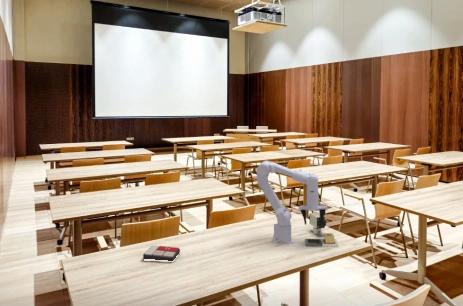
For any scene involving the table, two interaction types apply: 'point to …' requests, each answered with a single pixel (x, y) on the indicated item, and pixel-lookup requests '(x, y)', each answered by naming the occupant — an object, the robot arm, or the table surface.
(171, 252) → the grey and red box
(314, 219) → the pneumatic valve
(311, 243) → the tray
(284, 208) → the robot arm
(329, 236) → the brass cube with hole
